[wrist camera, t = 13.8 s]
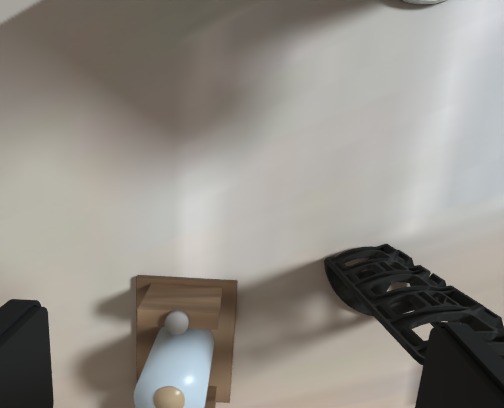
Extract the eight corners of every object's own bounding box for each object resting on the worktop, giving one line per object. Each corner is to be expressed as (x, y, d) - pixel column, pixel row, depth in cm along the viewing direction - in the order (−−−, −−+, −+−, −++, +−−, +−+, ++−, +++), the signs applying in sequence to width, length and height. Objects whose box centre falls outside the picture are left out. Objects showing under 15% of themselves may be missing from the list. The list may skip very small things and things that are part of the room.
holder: (307, 292, 40) (387, 439, 20) (335, 224, 39) (447, 307, 19) (404, 325, 41) (568, 493, 21) (433, 260, 40) (634, 372, 20)
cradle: (138, 275, 39) (116, 308, 33) (237, 280, 39) (235, 315, 33) (138, 393, 43) (119, 445, 36) (229, 397, 43) (227, 450, 36)
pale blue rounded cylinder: (155, 315, 39) (131, 368, 31) (214, 318, 40) (205, 371, 32) (156, 367, 41) (133, 429, 33) (213, 369, 41) (204, 432, 33)
